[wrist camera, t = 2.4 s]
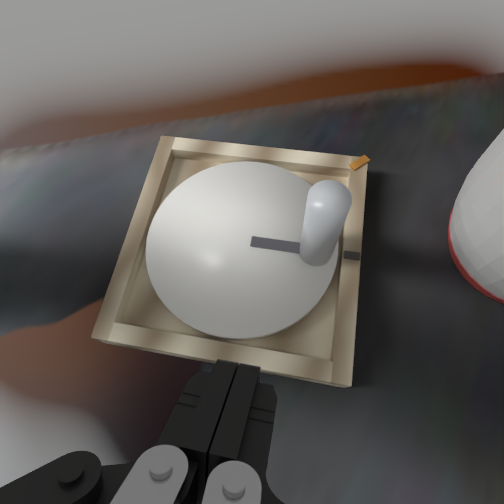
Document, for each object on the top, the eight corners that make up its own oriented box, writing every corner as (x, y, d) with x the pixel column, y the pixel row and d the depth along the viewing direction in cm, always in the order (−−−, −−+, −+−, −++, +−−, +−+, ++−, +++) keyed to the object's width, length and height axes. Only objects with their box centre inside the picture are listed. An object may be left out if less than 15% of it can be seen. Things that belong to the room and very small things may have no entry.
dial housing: (105, 343, 33) (89, 337, 30) (169, 152, 42) (161, 133, 39) (346, 388, 31) (354, 386, 28) (363, 174, 39) (370, 155, 36)
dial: (126, 321, 32) (63, 287, 23) (177, 160, 39) (145, 82, 30) (326, 357, 30) (349, 335, 21) (343, 180, 37) (367, 101, 27)
